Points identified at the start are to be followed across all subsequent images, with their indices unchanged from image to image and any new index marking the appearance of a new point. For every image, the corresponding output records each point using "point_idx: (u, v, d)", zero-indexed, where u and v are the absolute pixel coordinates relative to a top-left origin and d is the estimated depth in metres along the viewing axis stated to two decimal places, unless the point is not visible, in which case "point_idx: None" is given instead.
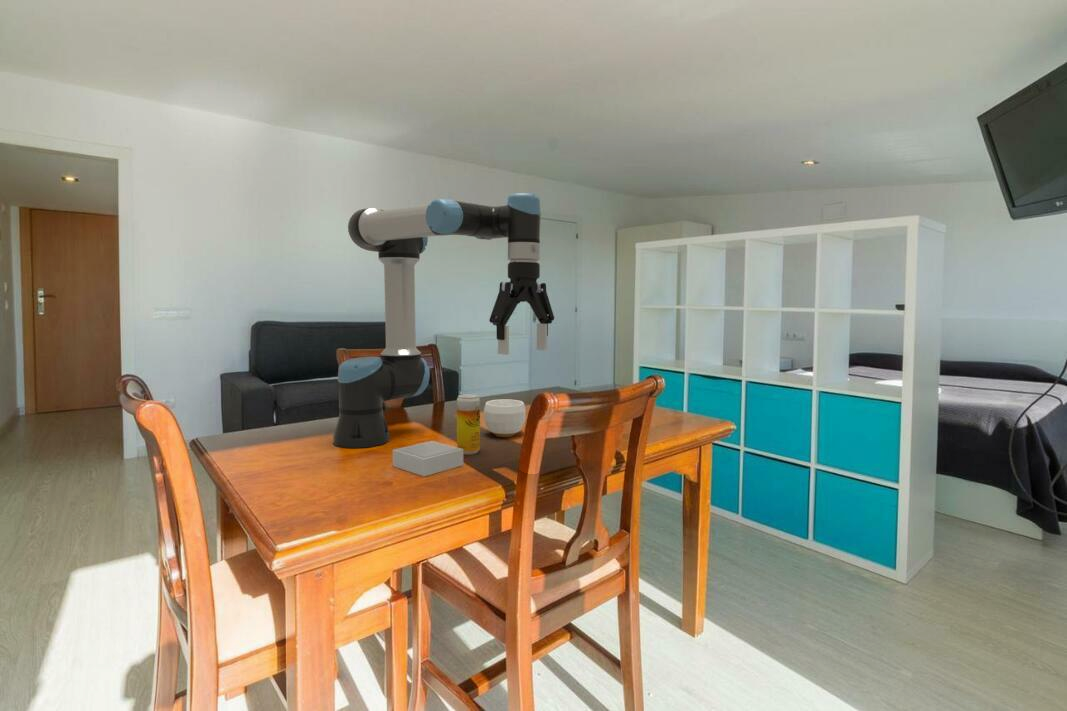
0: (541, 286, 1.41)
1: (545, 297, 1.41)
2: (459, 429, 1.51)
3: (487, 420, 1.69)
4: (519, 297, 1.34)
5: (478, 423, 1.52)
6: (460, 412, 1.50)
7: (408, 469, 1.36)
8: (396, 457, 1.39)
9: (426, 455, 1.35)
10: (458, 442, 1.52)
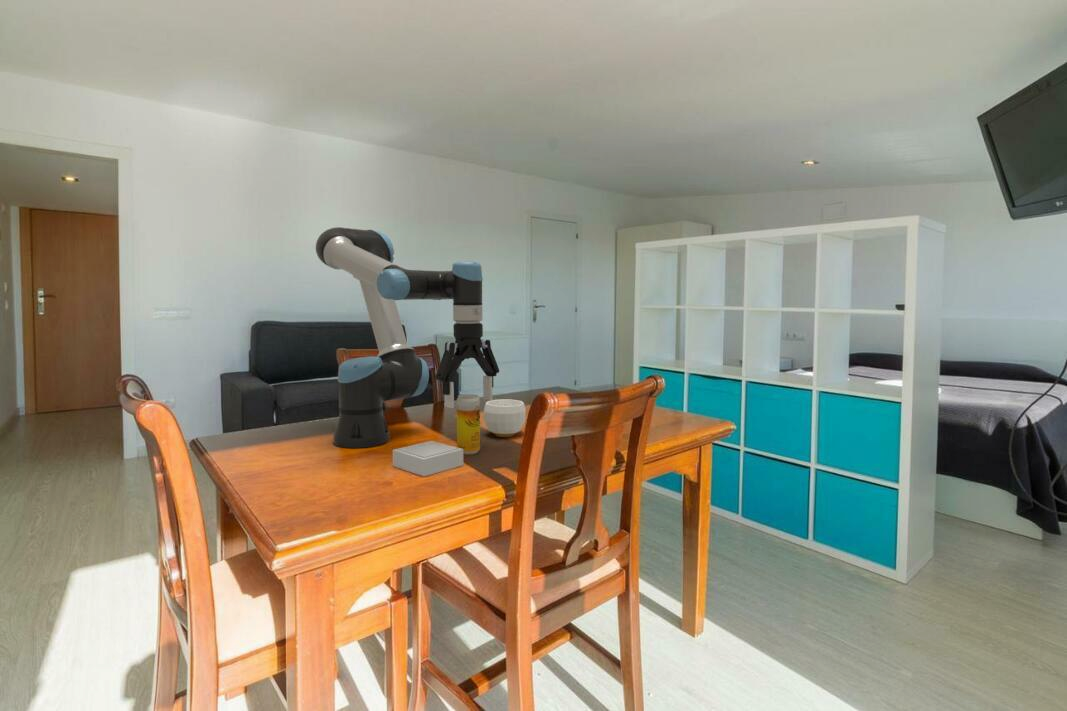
0: (485, 343, 1.54)
1: (490, 352, 1.55)
2: (459, 429, 1.51)
3: (487, 420, 1.69)
4: (463, 355, 1.47)
5: (478, 423, 1.52)
6: (460, 412, 1.50)
7: (408, 469, 1.36)
8: (396, 457, 1.39)
9: (426, 455, 1.35)
10: (458, 442, 1.52)
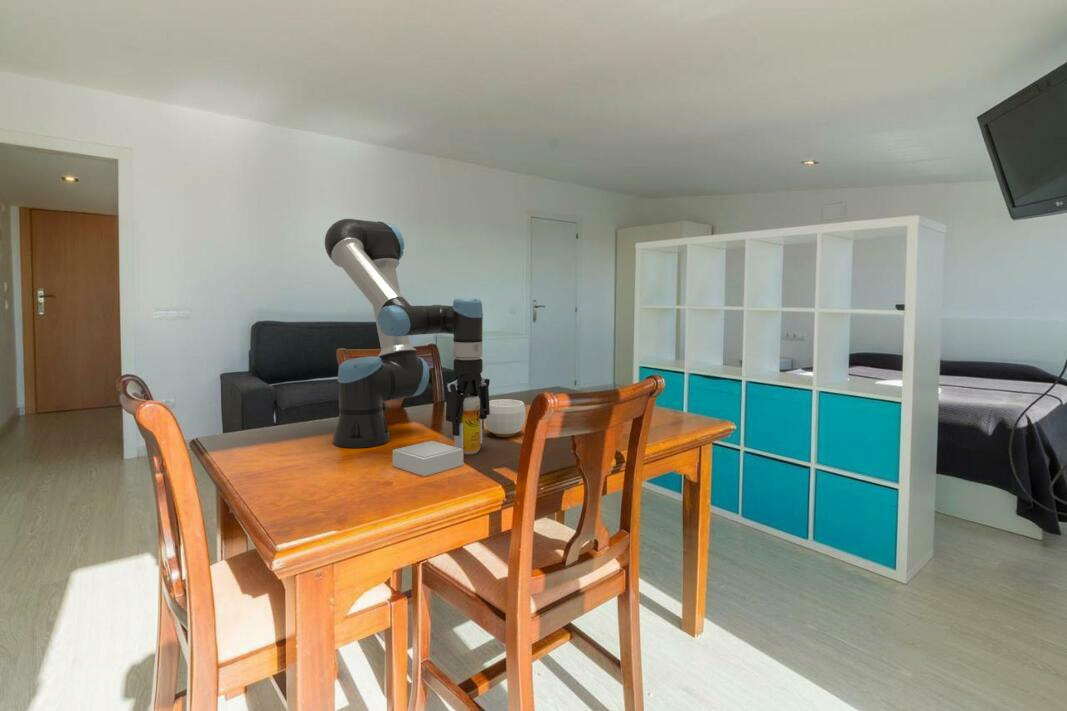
0: (485, 381, 1.55)
1: (486, 391, 1.55)
2: None
3: (487, 420, 1.69)
4: (465, 393, 1.49)
5: (478, 423, 1.52)
6: None
7: (408, 469, 1.36)
8: (396, 457, 1.39)
9: (426, 455, 1.35)
10: None
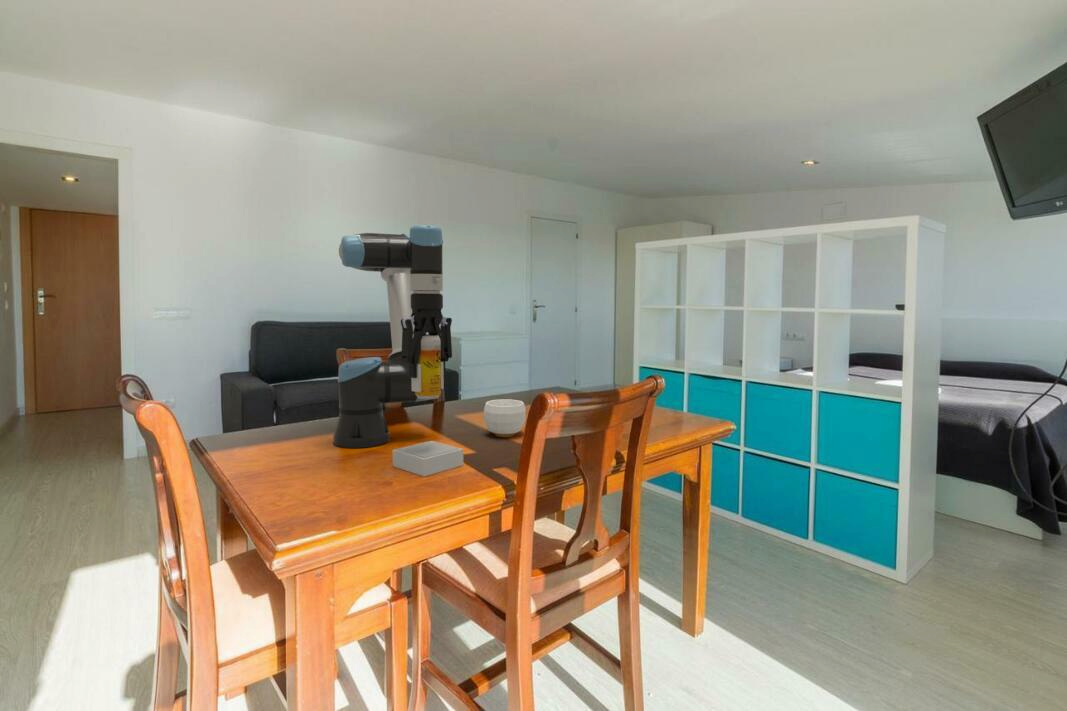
0: (446, 320, 1.41)
1: (447, 332, 1.41)
2: None
3: (487, 420, 1.69)
4: (423, 331, 1.35)
5: (438, 365, 1.37)
6: None
7: (408, 469, 1.36)
8: (396, 457, 1.39)
9: (426, 455, 1.35)
10: None
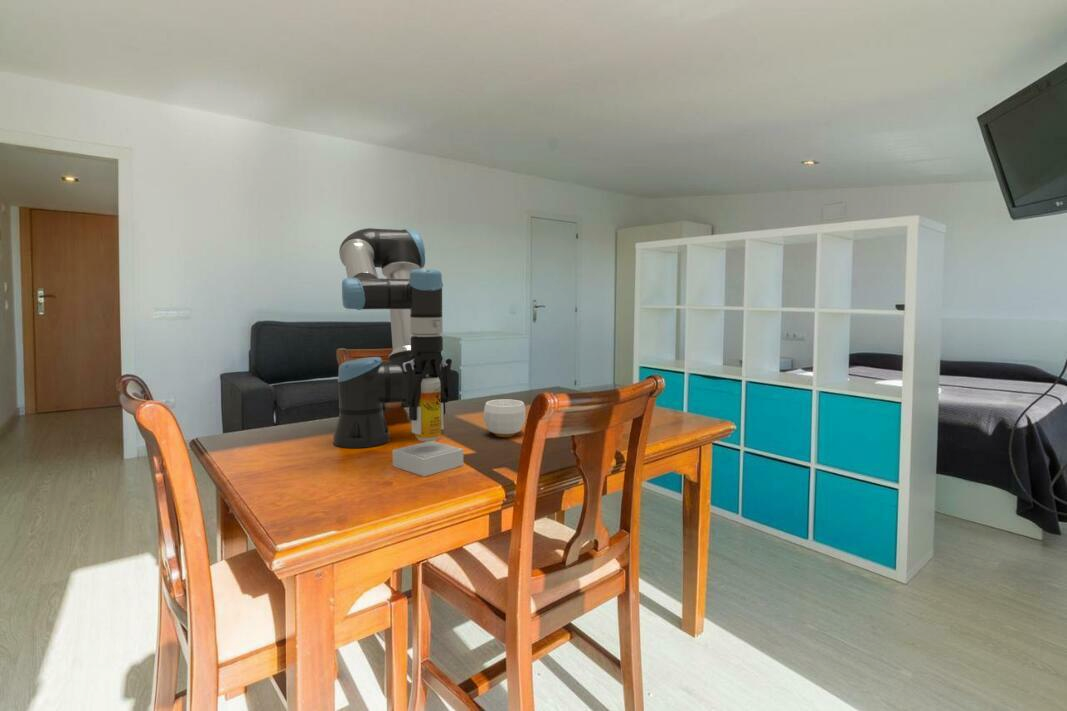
0: (446, 361, 1.42)
1: (447, 373, 1.42)
2: None
3: (487, 420, 1.69)
4: (423, 374, 1.36)
5: (438, 407, 1.38)
6: None
7: (408, 469, 1.36)
8: (396, 457, 1.39)
9: (426, 455, 1.35)
10: None
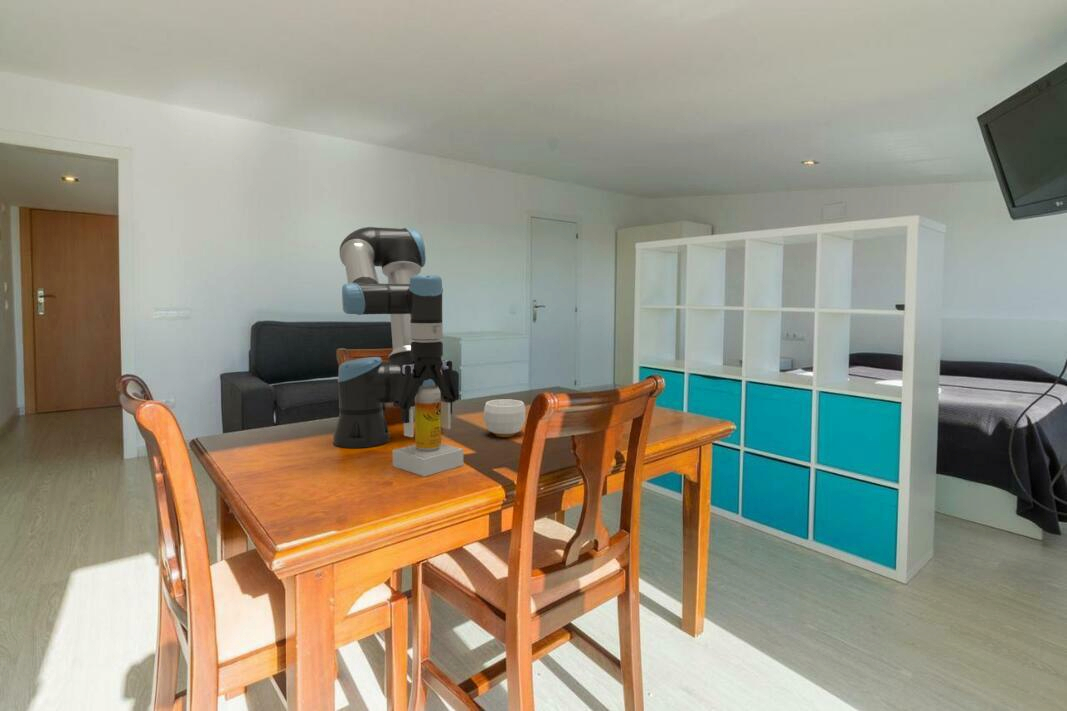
0: (447, 364, 1.42)
1: (450, 375, 1.43)
2: (417, 424, 1.38)
3: (487, 420, 1.69)
4: (421, 378, 1.36)
5: (438, 417, 1.39)
6: (418, 404, 1.37)
7: (408, 469, 1.36)
8: (396, 457, 1.39)
9: (426, 455, 1.35)
10: (416, 438, 1.39)
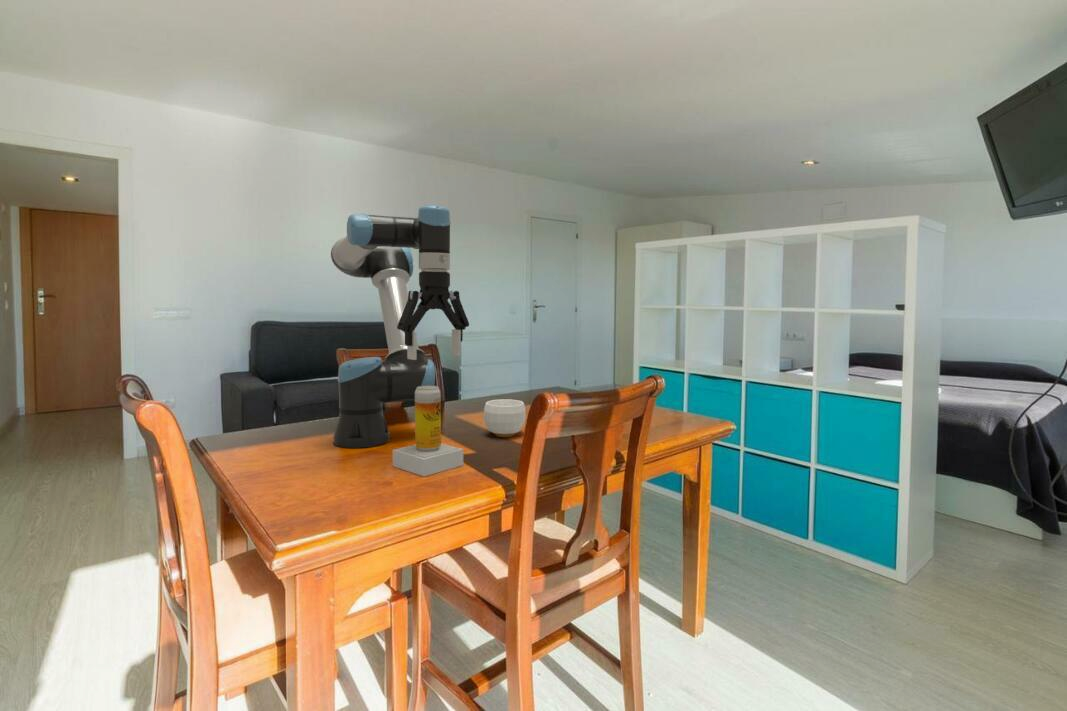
0: (454, 294, 1.47)
1: (458, 304, 1.47)
2: (417, 424, 1.38)
3: (487, 420, 1.69)
4: (427, 305, 1.40)
5: (438, 417, 1.39)
6: (418, 404, 1.37)
7: (408, 469, 1.36)
8: (396, 457, 1.39)
9: (426, 455, 1.35)
10: (416, 438, 1.39)
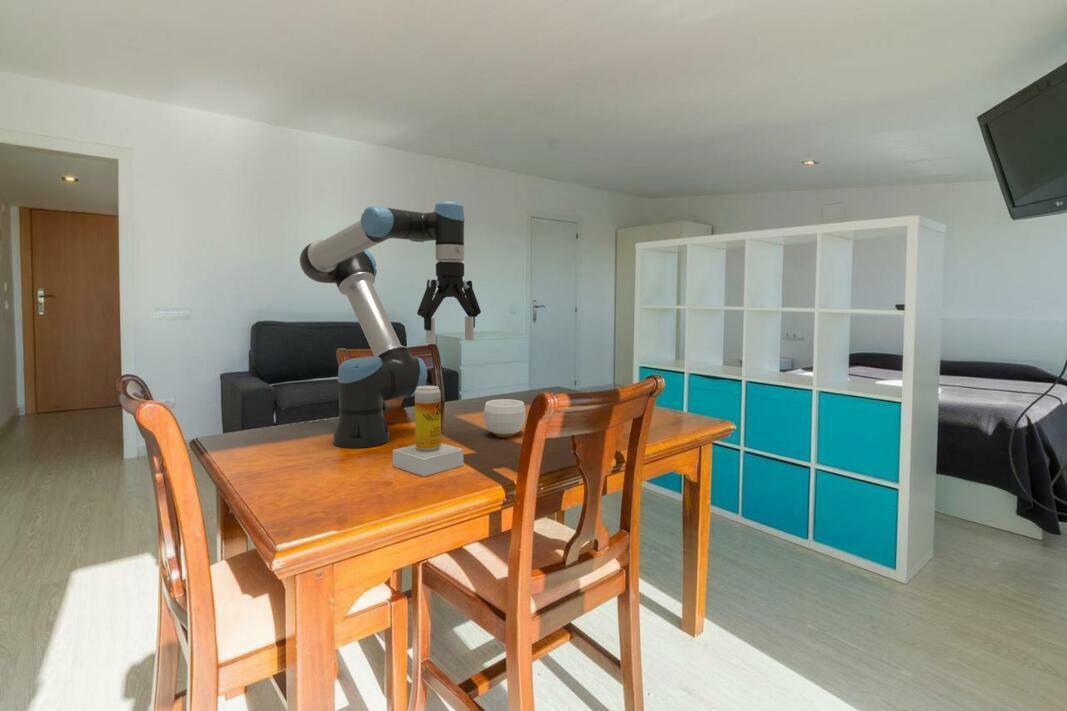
0: (467, 283, 1.59)
1: (471, 293, 1.59)
2: (417, 424, 1.38)
3: (487, 420, 1.69)
4: (444, 293, 1.52)
5: (438, 417, 1.39)
6: (418, 404, 1.37)
7: (408, 469, 1.36)
8: (396, 457, 1.39)
9: (426, 455, 1.35)
10: (416, 438, 1.39)
